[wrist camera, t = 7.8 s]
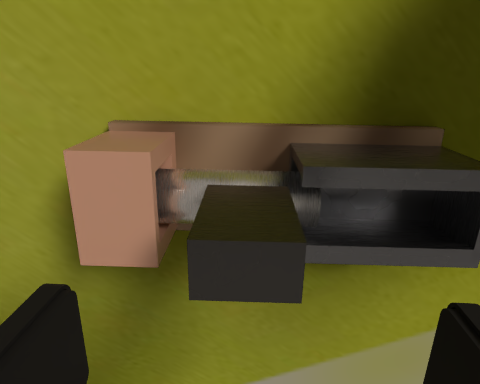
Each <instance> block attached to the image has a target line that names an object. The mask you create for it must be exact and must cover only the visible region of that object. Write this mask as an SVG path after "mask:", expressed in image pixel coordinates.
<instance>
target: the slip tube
mask: <svg viewBox="0 0 480 384" xmlns="http://www.w3.org/2000/svg"><path fill="white" fill-rule="evenodd" d="M155 178H156V193H157V209H158V223H179V224H193V225H192V228H191V230H190V233H189V236H188V238H187V252H188V279H189V300H207V301H239V302H272V303H301V302H302V290H303V279H304V268H305V256H306V245H307V242H306V239H305V236H304V233H303V230H302V227H316V226H317V224H318V221H319V216H320V208H321V188H312V187H302V186H301V184H300V180H301V175H300V172H295V171H252V170H208V169H165V168H158V169H157V170H156V172H155Z"/></svg>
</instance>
